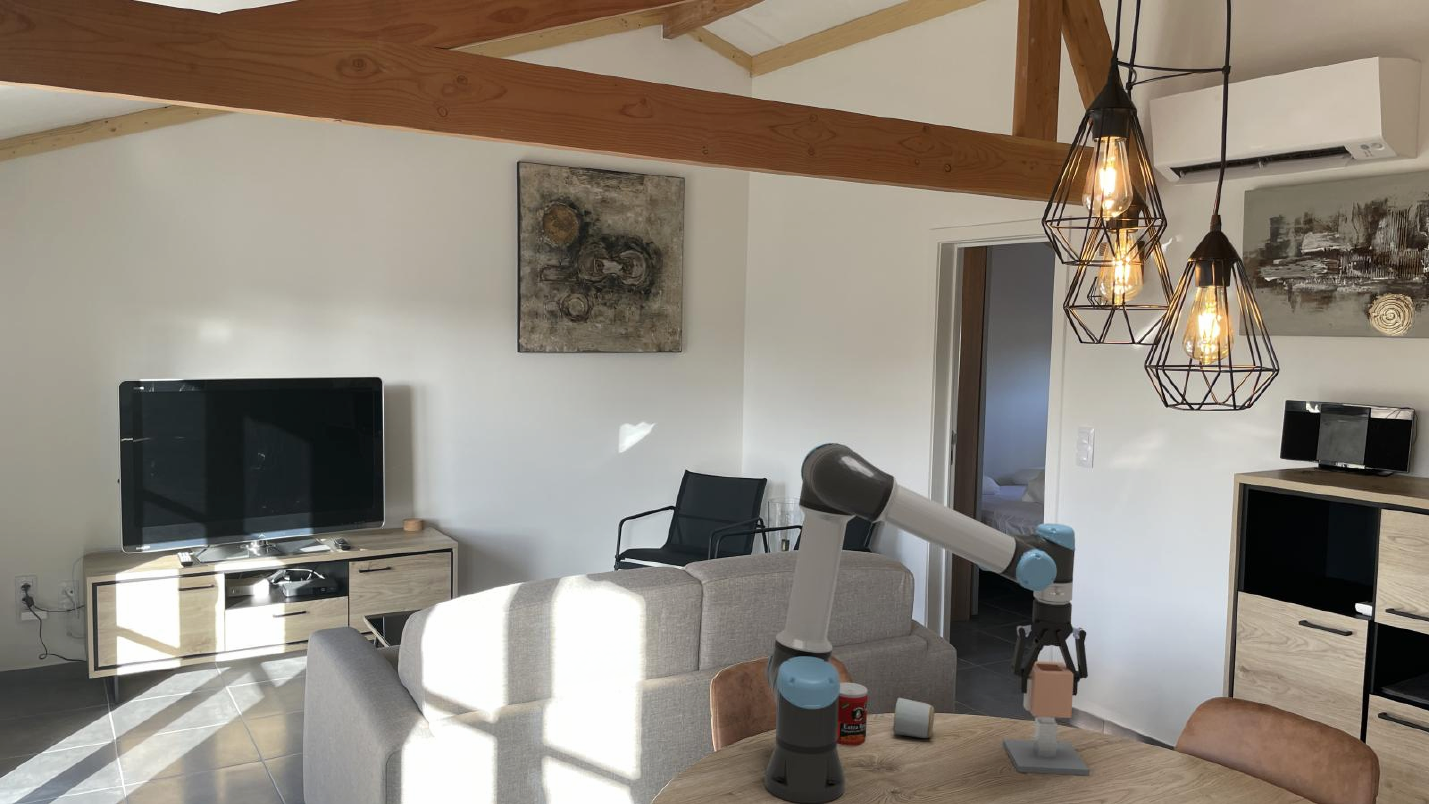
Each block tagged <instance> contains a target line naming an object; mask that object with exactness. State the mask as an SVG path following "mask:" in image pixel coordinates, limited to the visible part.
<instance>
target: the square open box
mask: <svg viewBox="0 0 1429 804" xmlns="http://www.w3.org/2000/svg"><path fill="white" fill-rule="evenodd" d="M1073 676H1074V674H1073V673H1072V672H1071V671H1070V670H1069V669H1068V668H1067V667H1066V664H1065V662H1059V661H1058V662H1057V661H1039V660H1036V662H1035V664H1034V666H1033V668H1032V670H1031V672H1030V674H1029V677H1030V678H1031V679H1032V684H1031V704H1030V711H1029V712H1030V714H1031V715H1032V717H1055V718H1061V719H1062V718H1063V719H1071V718H1072V713H1073V711H1072V710H1073Z"/></svg>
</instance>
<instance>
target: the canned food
mask: <svg viewBox="0 0 1429 804" xmlns="http://www.w3.org/2000/svg"><path fill="white" fill-rule="evenodd" d="M868 695H869V693H868V687H866V686H865V685H862V684H859V683H856V682H848V681H847V682H840V693H839V704H838V729H837V744H840V745H844V744H845V746H857V745H861V744H863V743H864V742H865V740H866V738H867V721H868V720H867V719H868V700H869V699H868Z"/></svg>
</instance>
